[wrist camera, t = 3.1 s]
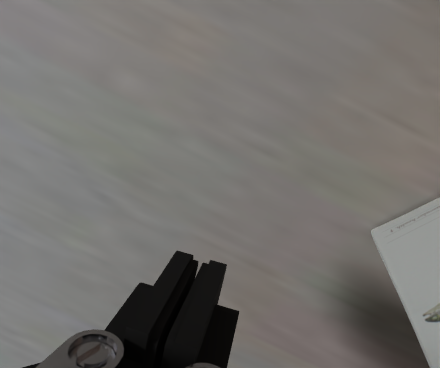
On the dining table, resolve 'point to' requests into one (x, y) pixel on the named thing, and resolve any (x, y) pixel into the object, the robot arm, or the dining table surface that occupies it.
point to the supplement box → (416, 270)
